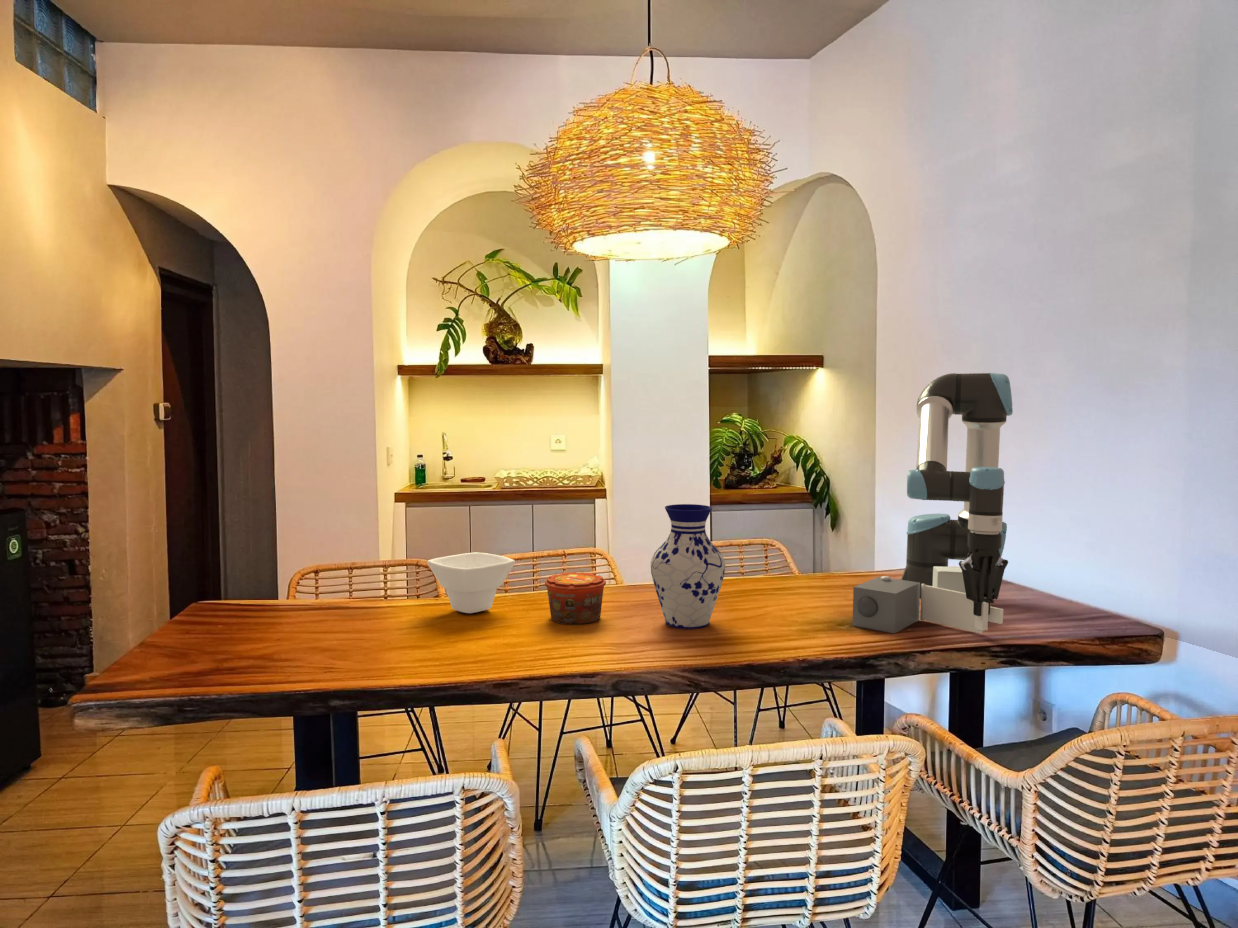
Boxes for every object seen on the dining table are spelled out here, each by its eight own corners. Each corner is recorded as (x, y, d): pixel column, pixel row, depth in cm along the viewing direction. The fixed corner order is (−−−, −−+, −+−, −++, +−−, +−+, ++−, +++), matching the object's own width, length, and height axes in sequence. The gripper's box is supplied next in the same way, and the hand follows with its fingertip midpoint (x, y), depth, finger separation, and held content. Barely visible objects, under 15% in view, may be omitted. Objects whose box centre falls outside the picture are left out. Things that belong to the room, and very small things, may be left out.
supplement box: (965, 619, 224) (967, 572, 223) (935, 618, 226) (937, 570, 225) (959, 612, 232) (961, 566, 231) (931, 611, 233) (932, 565, 232)
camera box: (878, 613, 231) (879, 573, 230) (918, 620, 224) (920, 579, 223) (851, 626, 218) (852, 584, 217) (893, 634, 211) (894, 590, 210)
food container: (534, 623, 220) (534, 581, 219) (560, 608, 235) (559, 569, 234) (592, 629, 214) (592, 587, 213) (614, 613, 229) (614, 574, 228)
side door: (919, 619, 223) (920, 583, 222) (921, 619, 224) (922, 583, 223) (999, 639, 206) (1001, 600, 205) (1002, 638, 207) (1003, 599, 206)
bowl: (521, 610, 232) (521, 559, 231) (463, 624, 218) (462, 570, 216) (478, 599, 244) (478, 550, 243) (421, 611, 230) (420, 560, 229)
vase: (731, 617, 226) (733, 504, 223) (715, 637, 208) (717, 514, 205) (661, 611, 232) (662, 501, 229) (640, 629, 214) (641, 510, 211)
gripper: (974, 535, 199) (970, 635, 201) (1018, 532, 204) (1014, 630, 206) (951, 530, 207) (948, 626, 208) (994, 528, 211) (991, 622, 213)
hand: (981, 628), depth 207 cm, fingers closed
